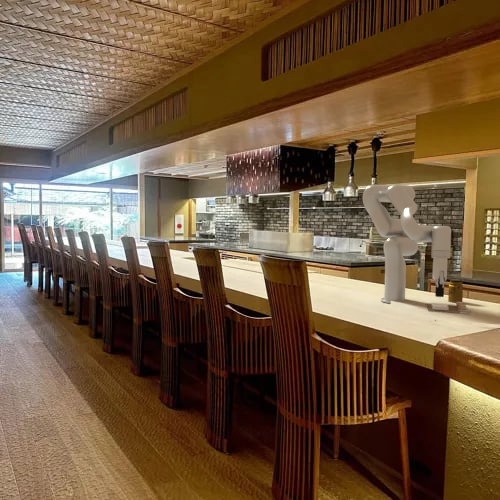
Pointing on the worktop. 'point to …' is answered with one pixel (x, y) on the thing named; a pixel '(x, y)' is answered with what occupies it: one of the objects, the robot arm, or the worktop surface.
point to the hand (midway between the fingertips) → (439, 296)
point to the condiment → (455, 291)
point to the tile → (439, 306)
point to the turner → (462, 308)
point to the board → (450, 310)
